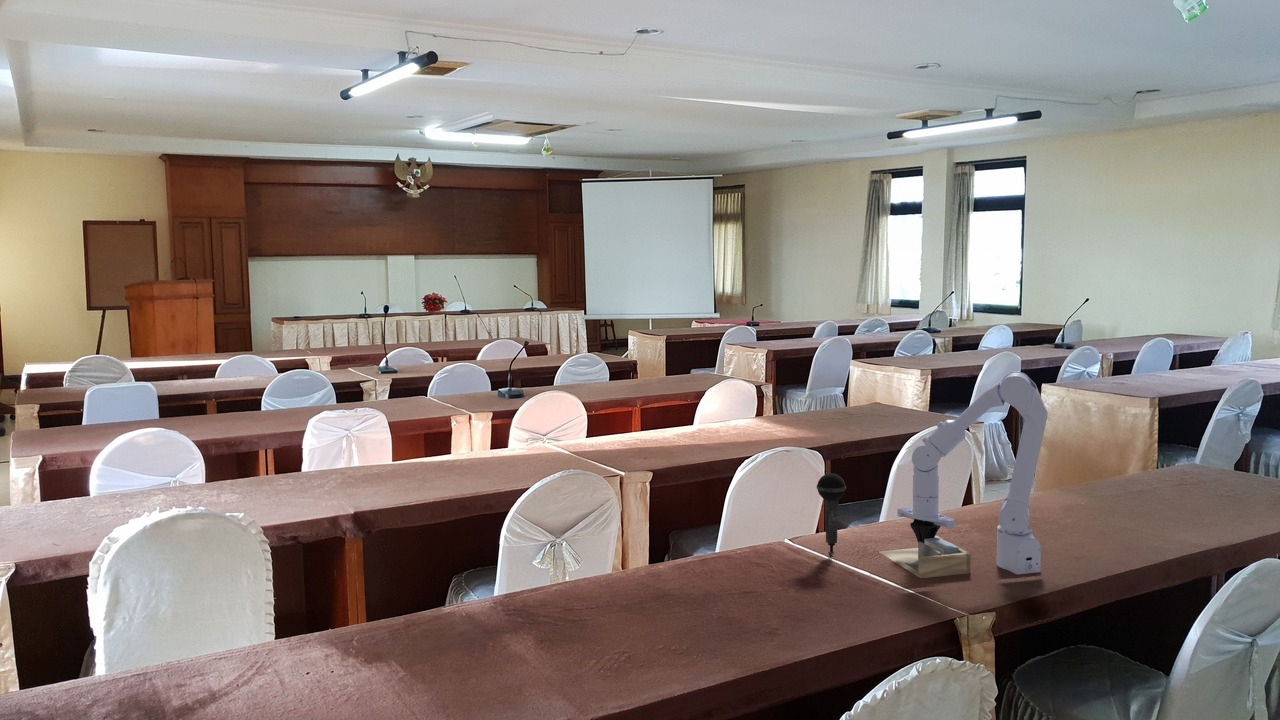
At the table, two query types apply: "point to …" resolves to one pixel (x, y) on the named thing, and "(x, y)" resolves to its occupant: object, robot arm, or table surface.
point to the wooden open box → (930, 561)
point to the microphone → (831, 504)
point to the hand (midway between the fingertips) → (925, 552)
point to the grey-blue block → (941, 546)
